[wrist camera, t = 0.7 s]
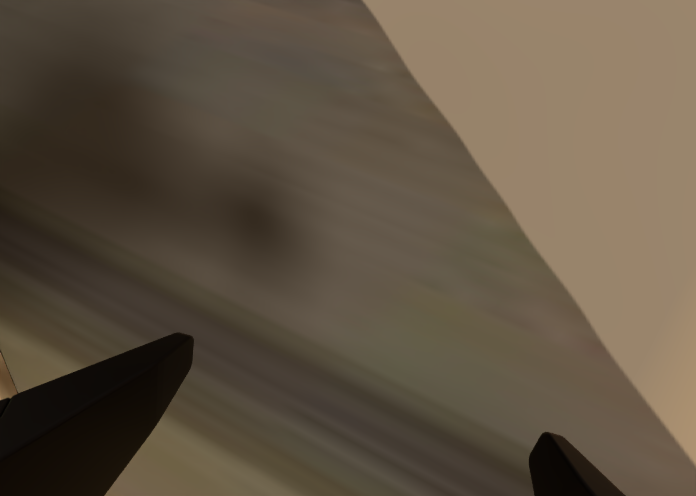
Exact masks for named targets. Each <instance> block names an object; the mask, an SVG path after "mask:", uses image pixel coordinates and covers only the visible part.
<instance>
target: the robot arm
mask: <svg viewBox="0 0 696 496" xmlns="http://www.w3.org/2000/svg"><path fill="white" fill-rule="evenodd" d="M193 346H194V339H193V337H192V336H191V335H187V334H183V333H179V332H177V333H174V334H171V335H168V336H166V337H163V338H161V339H158V340H155V341H153V342H150V343H148V344H145V345H143V346H140V347H137V348H135V349H132V350H130V351H127V352H124V353H122V354H119V355H117V356H114V357H111V358H109V359H106V360H104V361H101V362H99V363H96V364H93V365H91V366H88V367H86V368H83V369H80V370H78V371H75V372H73V373H70V374H67V375H65V376H62V377H60V378H57V379H55V380H52V381H49V382H47V383H44V384H42V385H39V386H36V387H34V388H31V389H29V390H26V391H23V392H21V393H18V394H16V395H13V396H12V398H5V399H2V400H0V496H104V495H105V494H106V493H107V491H108V490H109V489H110V487H111V486H112V485H113V483H114V482H115V481H116V479H117V478H118V477H119V475H120V474H121V473H122V471H123V470H124V469H125V467H126V466H127V464H128V463H129V462H130V460H131V459H132V458H133V456H134V455H135V454H136V452H137V451H138V450H139V448H140V447H141V446H142V444H143V443H144V442H145V440H146V439H147V438H148V436H149V435H150V434H151V432H152V431H153V429H154V428H155V426H156V425H157V423H158V422H159V420H160V419H161V417H162V415H163V414H164V412H165V410H166V409H167V407H168V405H169V404H170V402H171V400H172V399H173V397H174V395H175V394H176V392H177V390H178V389H179V387H180V385H181V384H182V382H183V380H184V379H185V377H186V375H187V374H188V372H189V370H190V368H191V365H192V359H193ZM529 468H530V473H531V479H532V484H533V490H534V495H535V496H625V495H624V494H623V493H622V492H621V491H620V490H619V489H618V488H617V487H616V486H615V485H614V484H613V483H612V482H611V481H610V480H608V479H607V478H606V477H605V476H604V475H603V474H602V473H601V472H600V471H599V470H598V469H597V468H596V467H595V466H594V465H593V464H592V463H591V462H589V461H588V460H587V459H586V458H585V457H584V456H583V455H582V454H581V453H580V452H579V451H578V450H577V449H576V448H575V447H574V446H573V445H572V444H571V443H569V442H568V441H567V440H566V439H565V438H564V437H563V436H560V435H557V434H553V433H550V432H544V433H542V434H541V436H540V438H539V439H538V441H537V443H536V445H535V446H534V448H533V450H532V452H531V453H530V456H529Z"/></svg>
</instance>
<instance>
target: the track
mask: <svg viewBox="0 0 696 496" xmlns="http://www.w3.org/2000/svg"><path fill="white" fill-rule="evenodd" d="M16 394H18V393H17V391H16V388H15V386H14V383H13V381H12V379H11V376H10V374H9V371H8V369H7V367H6V364H5V362H4V359H3V357H2V354H1V352H0V400H2V399H5V398H12V396H13V395H16Z"/></svg>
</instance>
